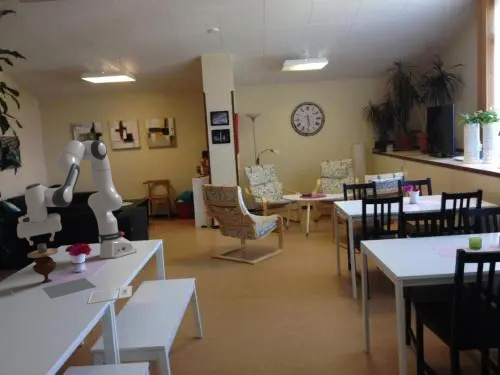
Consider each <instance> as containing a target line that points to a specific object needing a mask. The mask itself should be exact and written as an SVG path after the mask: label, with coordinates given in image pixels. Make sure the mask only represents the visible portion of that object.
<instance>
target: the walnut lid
mask: <svg viewBox="0 0 500 375" xmlns="http://www.w3.org/2000/svg"><path fill="white" fill-rule="evenodd" d="M36 247H37V250H33V251H31V252H29V253H27V255H26V256H27V258H30V259H35V258H39V257H45V256H49V257H51V256H52V255H56V254H58V252H59V250H58V248H55V247H54V248H47V243H39V244H37V246H36Z"/></svg>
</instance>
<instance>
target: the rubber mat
mask: <svg viewBox="0 0 500 375" xmlns="http://www.w3.org/2000/svg"><path fill="white" fill-rule="evenodd" d="M96 287H97V286H96V285H95V284H93V283H92V282H91V281H89V280H88V279H87V278H85V277H82V278H81V277H80V278H78V279H74V280H70V281H65V282H62V283H58V284H53V285H50V286H44V287H42V290H43V291H44V292H45V293H46V294H47V295H48V297H49V298H50V299H56V298H58V297H62V296H66V295H70V294H74V293H78V292H82V291H85V290H88V289H89V290H90V289H93V288H96Z"/></svg>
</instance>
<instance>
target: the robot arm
mask: <svg viewBox="0 0 500 375" xmlns="http://www.w3.org/2000/svg"><path fill="white" fill-rule="evenodd" d="M107 152H108V147H107V145H106V144H105V142H104V141H102V140H97V139H95V140H84V141H79V140H74V139H73V140H71V141H69V142H68V143H67V144H66V145H65V147H64V148H63V150H62V151H61V153H60V154H59V156H58V158H57V162H56V164H57V167H58V169H59V170H61V172H63V173H64V174H66V175H65V178H64V181H63V183H62V185H60V186H59V187H47V186H44V185H42V184H41V183H37V182H36V183H32V184H29V185H27V186H26V187H25V189H24V200H25V205H26V207H27V209H26V214H24V215H22V216H19V217H18V219H17V220H18V223H17V227H16V233H17V237H18V238H19V239H24V238H25V239H26V240H27V241H28V242H29V246H34V241H33V240H30V239H31V237H34V236H39V235H46V234H51V237H49V242H53V241H54V240H55V239H54V237H55V234H56V232H60V231H61V230H62V229H63V228H62V227H63V226H62V223H61V215H60V214H59V213H56V212H55V213H49V214H48V209H47V207H49V208H51V207H52V208H54V207H57V208H67V207H68V206H70V204H71V203H72V201H73V197H74V196H73V195H74V191H75V188H76V186H77V184H78V183H77V182H78V179H79V176H80V174H81V169H80V164H81V163H82V161H89V162H90V170H91V178H92V183H93V185H94V187H95V188H96V190H97V192H96V193H95V192H94V193H92V194H91V195H89V197H88V198H87V204H88V206H89V208H90V209H91V210H92V211H93V214H94V216H95V219H96V222H97V226H98V242H99V259H100V258H101V259H117V258H120V257H121V258H122V257H124V256H128V255H132V254H134V253H137V252H138V250H137V248H135V247H134V246H133V242H131V241H130V240H128V239H126V238H125V237H123V236H124V235H125V232H123V231H119V229H118V220H117V218H116V217H115V216H114V214H113V211H117V210H119V209H120V208H121V207H122V206H123V198H122V196H121V195H120V194H119V193H118V191H117V190H116V188H115V186H114V182H113V179H112V170H111V163H110V160H109V156H108V154H107Z"/></svg>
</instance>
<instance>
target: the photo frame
mask: <svg viewBox="0 0 500 375" xmlns="http://www.w3.org/2000/svg"><path fill="white" fill-rule="evenodd" d="M115 289H117V290H118V287H114V288H113V287H112V290H115ZM110 290H111V288H108V289H106V291H110ZM103 291H105V289H102V290H99V292H103ZM97 292H98V290H94V291H91V294H90V295H89V299H88V302H87V304H88V305H90V304H89V303H91V304H98V303H103V302H110V301H116V300H121V299H122V300H123V299H128V298H132V294H133V293H132V292H133V285H128V286H121V287H119V293H118V297H115V298H109V299H102V300H95V301H91V300H92V297H93V294H94V293H97Z"/></svg>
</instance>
